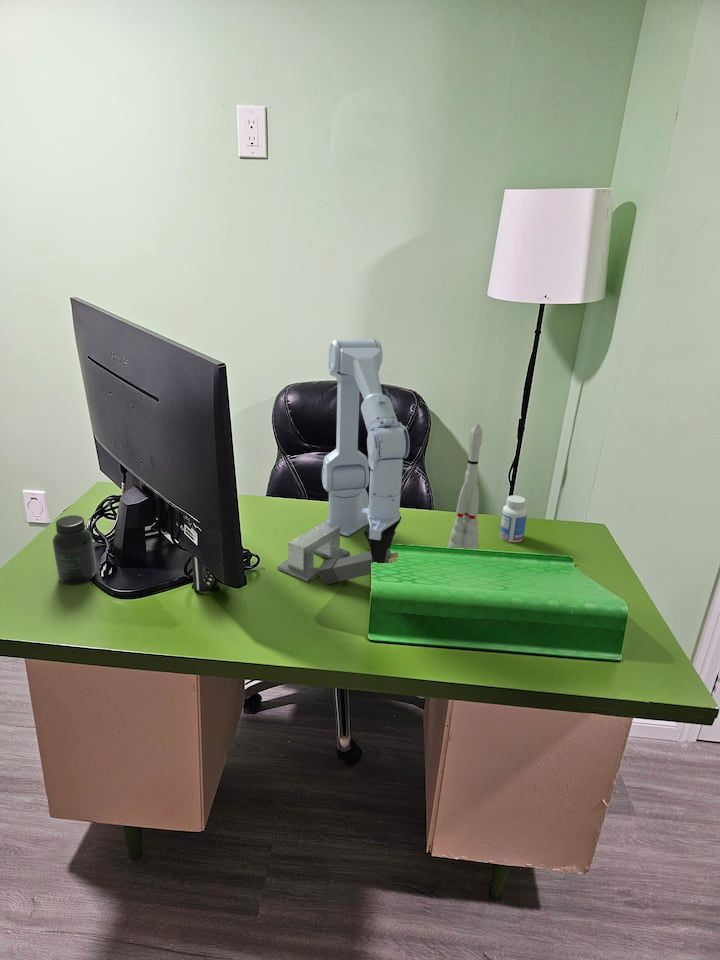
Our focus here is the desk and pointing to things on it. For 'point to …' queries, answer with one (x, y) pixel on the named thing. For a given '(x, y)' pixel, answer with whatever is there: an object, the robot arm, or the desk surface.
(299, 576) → the mounting bracket
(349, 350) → the robot arm
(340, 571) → the plug
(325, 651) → the desk surface
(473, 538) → the rocket model
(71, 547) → the supplement bottle
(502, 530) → the pill bottle
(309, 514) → the desk surface
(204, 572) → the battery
